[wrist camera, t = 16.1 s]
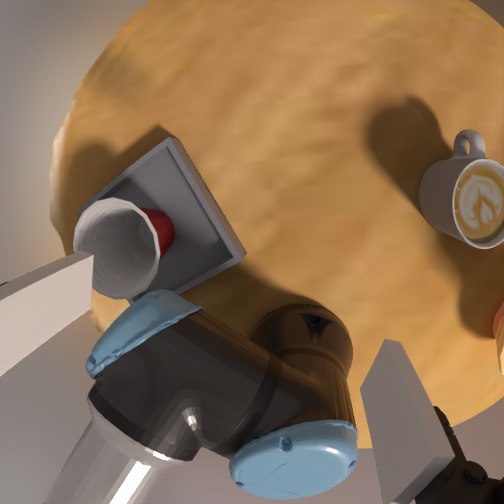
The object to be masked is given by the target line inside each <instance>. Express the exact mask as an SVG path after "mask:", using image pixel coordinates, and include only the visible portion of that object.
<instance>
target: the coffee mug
mask: <svg viewBox="0 0 504 504" xmlns="http://www.w3.org/2000/svg"><path fill="white" fill-rule="evenodd" d="M468 142H469V143H470V151H469V153H468V155H467V153H466V148H467V143H468ZM418 198H419V205H420V209H421V212H422V214H423V216H424V218H425V219H426V221H427V222H428V223H429V224H430V225H431V226H432V227H433V228H435V229H437V230H439V231H441V232H443V233H445V234H448V235H450V236H452V237H454V238H456V239H458V240H460V241H462V242H465V243H467V244H469V245H471V246H473V247H475V248H479V249H489V248H493V247H495V246H497V245H499V244H500V243H501V242H502V241H504V167H503V166H502V165H501V164H500V163H498V162H497V161H495V160H492V159H488V158H485V145H484V141H483V138H482V136H481V135H480V134H479V133H478V132H476V131H473V130H463V131H461V132H460V133H459V134H457V136H456V138H455V141H454V151H453V155H452V157H451V158H450V159H446V160H440V161H437V162H435V163H434V164H432V165H431V166H430V167H429V168H428V169H427V170H426V171H425V173H424V175H423V177H422V179H421V182H420V185H419V191H418Z"/></svg>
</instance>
